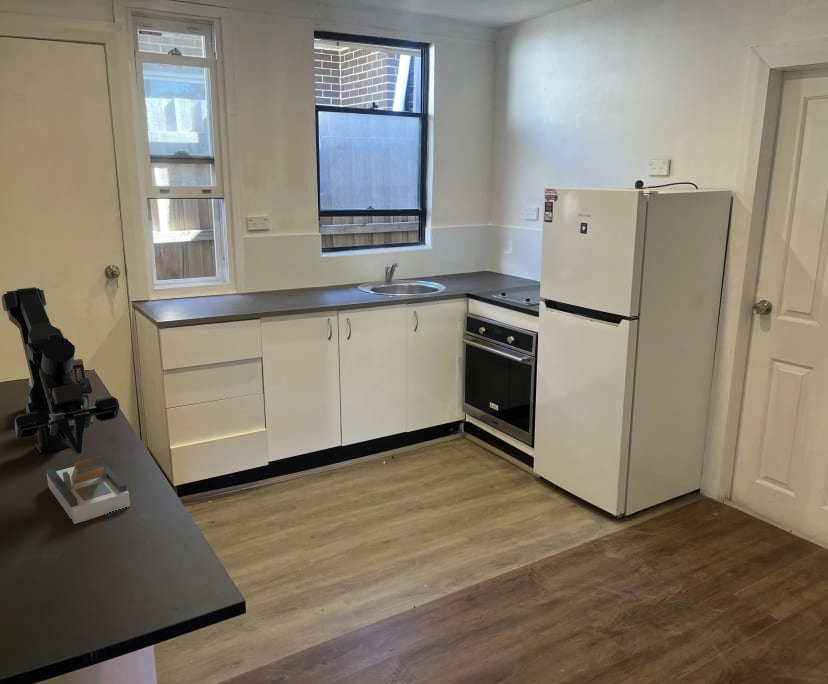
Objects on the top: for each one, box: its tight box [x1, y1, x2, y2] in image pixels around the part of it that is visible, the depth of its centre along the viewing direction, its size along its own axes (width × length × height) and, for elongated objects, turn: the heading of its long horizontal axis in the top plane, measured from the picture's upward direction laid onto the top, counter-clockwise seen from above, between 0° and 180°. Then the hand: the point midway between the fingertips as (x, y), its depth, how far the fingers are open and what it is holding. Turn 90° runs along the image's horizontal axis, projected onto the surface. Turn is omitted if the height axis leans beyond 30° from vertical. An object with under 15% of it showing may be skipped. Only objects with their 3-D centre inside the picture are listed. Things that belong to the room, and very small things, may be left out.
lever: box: [71, 454, 108, 485], centre depth 128 cm, size 2×5×8 cm
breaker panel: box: [46, 464, 131, 525], centre depth 131 cm, size 20×10×6 cm, turn 41°
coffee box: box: [68, 358, 94, 427], centre depth 171 cm, size 9×6×16 cm
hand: (79, 453), depth 132 cm, fingers closed
